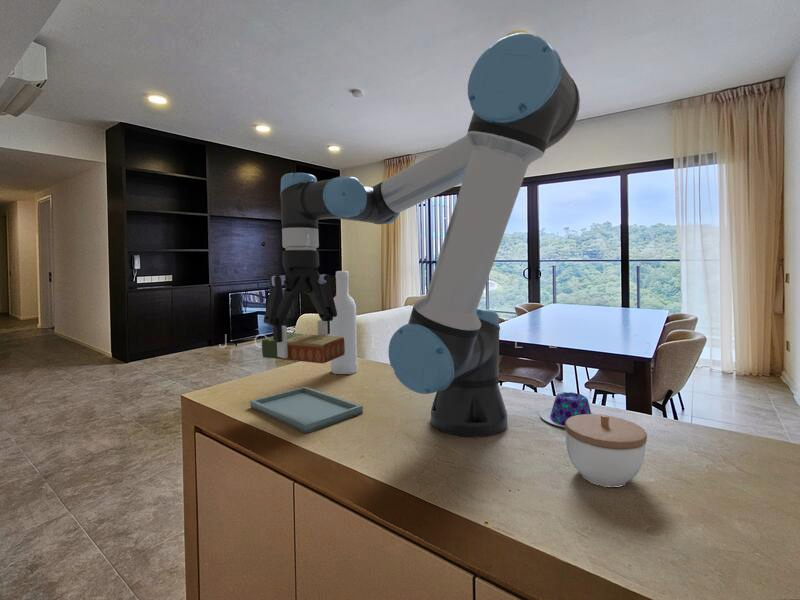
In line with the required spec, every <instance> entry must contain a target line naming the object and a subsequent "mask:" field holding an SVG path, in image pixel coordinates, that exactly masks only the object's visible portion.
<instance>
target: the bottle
mask: <svg viewBox="0 0 800 600" xmlns="http://www.w3.org/2000/svg"><path fill="white" fill-rule="evenodd" d="M349 278H350V275H349V271H348V270H337V271H335V286H336V288H335V290H336V291H335V292H336V293H335V296H333V298H334V302H335V307H336V311H337V316H336V317H333V320H332V321H330V334H329V336H337V337H344V344H345V353H344V355H343V356H340V357H338V358H336V359H333V360H331V361H330V372H331V373H332V374H333V373H334V374H333V375H336V374H349V375H352V374H351V373H353V374H355V372H356V373H357V372H358V347H357V346H358V344H357V343H358V342H357V340H358V337H357V333H358V332H357V305H356V303H355V300H354V298H353V297H352V296H351V295H350V293H349V291H350V290H349V286H350V285H349V283H350V282H349Z"/></svg>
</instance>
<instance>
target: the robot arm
mask: <svg viewBox="0 0 800 600" xmlns="http://www.w3.org/2000/svg"><path fill="white" fill-rule="evenodd" d="M467 98H468V100H469V104H470V107H471V110H472V111H473V113H472V116H471V119H470V122H469V126H468V129H467V133H466V134H465V136H462V137H460V138H458V139H457V140H455V141H453V142H452V143H449V144H448V145H446V146H444V147H443V148H440V149H439V150H436V152H433V153H431V154H430V155H428V156H426V157H424V158H423V159H421V160H419V161H417V162H415V163H413V164H412V165H410V166H408V167H406V168H404V169H402V170H401V171H398V172H396V173H395V174H394V175H392V176H390V177H389V178H386V179H384V180H383V181H381V182H379V183H377V184H375V185H373V186H367V185H364V184H363V183H361V181H359V179H358V178H357V177H354V176H336V177H333V178H330V179H323V180H319V181H318V179H317V177H316V176H315V175H313V174H310V173H305V172H295V173H294V172H290V173H285V174H283V176H281V178H280V193H279V198H280V212H281V216H280V217H281V233H282V235H281V237H282V238H281V241H282V243H281V244H282V248H284V249H285V250H283V251H282V268H283V274H282V275H270V277H269V285H270V288H269V293H268V297H267V303H266V306H265V307H266V308H265V311H264V315H263V323H264V324H266V325H270V326H271V327H272V332H273V333H272V334H273V335H272V337H273V339H274V342H277V356H278V357H281V358H288V355H287V333H288V330H287V328H288V327H287V326H286V325H284V323H285V321H286V319H287V316H288V314H289V312H290V310H291V308H292V305H293V303H294V300H295V298H296V297H297V296H298V295H299V294H301V295H302V294H306V295H307V296H308V297H309V299H310V301H311V302H312V304H313V306H314V308H315V311H316V313H317V315H318V316H319V318H320V320H319V319H318V320H317V321H316V323H317V335H321V336H329V335H330V321H332V320H333V317H336V316H337V311H336V307H335V302H334V295H333V292H332V290H333V289H332V288H331V287H332V286H331V275H330V274H323V273H322V274H320V273H319V270H318V268H319V267H320V254H319V253H320V252H319V251H318V250H317V249H318V248H319V246H320V243H319V242H320V241H319V221H320V220H329V219H334V220H335V219H337V220H347V221H353V222H354V221H355V222H361V223H370V224H375V225H387V224H392V223H394V222H395V221H396V220H397V218H398V217H399V215H400V214H401V212H404V211H406V210H409V209H410V208H412V207H414V206H417V205H419V204H420V203H422V202H424V201H427V200H430V199H431V198H434V197H435V196H437V195H439V194H441V193H443V192H446V191H448V190H450V189H452V188H454V187H456V186H459V185H460V188H459V192H458V195H457V198H456V200H455V204H454V207H453V211H452V213H451V217H450V220H449V223H448V226H447V230H446V233H445V236H444V238H443V243H442V244H441V249H440V251H439V254H438V258H437V261H436V263H435V264H436V265H435V266H434V270H433V273H432V277H431V279H430V283H429V286H428V290H427V293H426V295H425V296H424V297H421V298H420V299H418V300H416V301H415V302H414V303H413V307H412V309H411V313H410V316H409V319H408V323H407V324H404V325H402V326H400V327H399V328H398V329H397V330H396V331H395V332H394V333H393V334H392V336H391V338H390V340H389V344H388V350H387V352H388V359H389V364H390V367H391V368H392V369H393V372H394V376H395V378H396V379H398V380H399V382H400V383H401V384H402V385H403V386H404V387H406V389H409V390H410V391H412V392H414V393H418V394H422V395H429V394H430V395H431V394H434V393H436V394H435V396H434V399H433V402H432V406H431V408H430V423H431V425H432V426H433V427H434V428H435V429H438V430H439V431H442V432H444V433H447V434H451V435H453V436H454V435H456V436H459V437H488V436H491V435H492V436H493V435H496V434H499V433H501V432H503V431H504V430H505V429H507V427H508V411H507V409H506V406H505V403H504V402H505V401H504V398H503V396H502V393H501V389H500V385H499V373H500V371H499V369H500V367H499V366H500V364H499V363H500V330H501V326H500V319H499V318H500V317H499V314H498V313H497V312H496V311H495V310H492V309H480V308H478V307H479V305H480V302H481V299H482V297H483V296H482V295H483V293H484V291H485V288H486V286H487V282H488V279H489V277H490V273H491V271H492V269H493V266H494V264H495V263H494V262H495V260H496V257H497V254H498V251H499V248H500V245H501V243H502V240H503V238H504V234H505V232H506V229H507V226H508V224H509V220H510V219H511V218H510V217H511V214H512V213H513V208H514V206H515V204H516V201H517V197H518V196H519V192H520V190H521V187H522V184H523V181H524V178H525V176H526V173H527V170H528V167H529V165H530V164H532V163H534V162H535V161H537V160H539V159H541V158H543V156H544V154H545V152H546V150H547V149H549V148H551V147H552V146H554V145H556V144H557V143H559V142H560V141H562V139H563V138H564V137H565V136H567V134H568V133H569V132H570V130H571V129H572V128H573V126H574V124H576V121H577V118H578V115H579V111H580V101H581V99H580V98H581V97H580V92H579V88H578V86H577V84H576V82H575V80H574V78H572V76H571V75H570V73H569V72H568V71H567V68H566V67H565V65H564V64H563V62H562V59H561V57H560V54H559V52H558V51H557V50H556V49H555V48H554V47H553V46H551V45H550V44H549V43H548V41H546V40H545V39H544V38H542V37H540V36H538V35H537V34H533V33H532V34H531V33H526V32H522V33H521V32H520V33H513V34H510V35H507V36H505V37H502V38H500V39H499V40H497V42H495V43H494V44H492V45H491V46H489V47H487V49H485V50H484V51H483V53H481V54H480V55H479V58H478V59H477V60H476V62H475V63H474V66H473V67H472V69H471V72H470V74H469V77H468V82H467ZM284 284H285V289H284V291H283V296H281V295H282V290H283V285H284ZM317 284H319V288H318V285H317ZM320 293H321V294H320ZM281 297H282V299H281Z"/></svg>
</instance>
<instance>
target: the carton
mask: <svg viewBox="0 0 800 600" xmlns="http://www.w3.org/2000/svg"><path fill="white" fill-rule="evenodd" d="M261 351H262V352H261V353H262V358H265V359H267V358H268V359H275V360H276V359H277V360H285V361H286V360H287V361H295V362H296V361H297V362H303V363H304V362H306V363H315V364H326V363H329V362H331V360H333V359H336V358H338V357H340V356H343V355H344V353H345V344H344V337H337V336H330V335H328V336H321V335H318V334H304V333H290V332H287V355H288V358H281V357H278V356H277V342H274V339H273V336H270V337H266V338H264V339H262V340H261Z"/></svg>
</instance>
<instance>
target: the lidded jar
mask: <svg viewBox="0 0 800 600" xmlns="http://www.w3.org/2000/svg"><path fill="white" fill-rule="evenodd" d="M564 429H565V443H566V444H565V445H566V450H567V454H568V457H569V459H570V462H571V464H572V465H573V467H574V468H575V469H576V470H577V472H579V473H580V476H581V475H582V476H581V477H582V478H583V479H584V480H585V479H586V480H588V481H590V482H592V483H595V484H598V485H602V486H610V487H615V486H620V485H624V484H625V483H626V484H627V483H629V482H630V481H632V480H633V479H634V478H636V476H637V475H638V474H639V472H640V471H641V469H642V466H643V464H644V460H645V455H646V454H645V453H646V443H647V440H648V434H647V431H646V430H645V429H644V428H643V427H642V426H640V425H639V424H636V423H634V422H632V421H630V420H627V419H624V418H620V417H616V416H611V415H608V414H596V413H594V414H583V415H576V416H572V417H570V418H568V419H567V420H566V423H565V427H564ZM586 480H585V481H586ZM588 481H587V482H588ZM590 482H589V483H590ZM592 483H591V484H592ZM626 484H625V485H626ZM625 485H624V486H625Z"/></svg>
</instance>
